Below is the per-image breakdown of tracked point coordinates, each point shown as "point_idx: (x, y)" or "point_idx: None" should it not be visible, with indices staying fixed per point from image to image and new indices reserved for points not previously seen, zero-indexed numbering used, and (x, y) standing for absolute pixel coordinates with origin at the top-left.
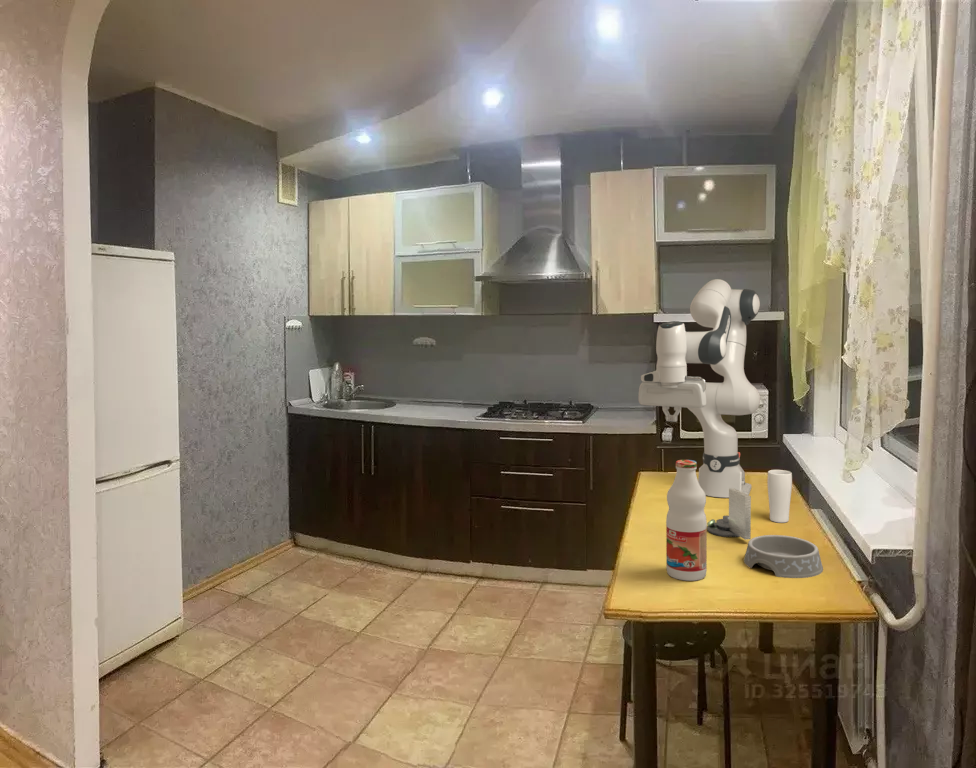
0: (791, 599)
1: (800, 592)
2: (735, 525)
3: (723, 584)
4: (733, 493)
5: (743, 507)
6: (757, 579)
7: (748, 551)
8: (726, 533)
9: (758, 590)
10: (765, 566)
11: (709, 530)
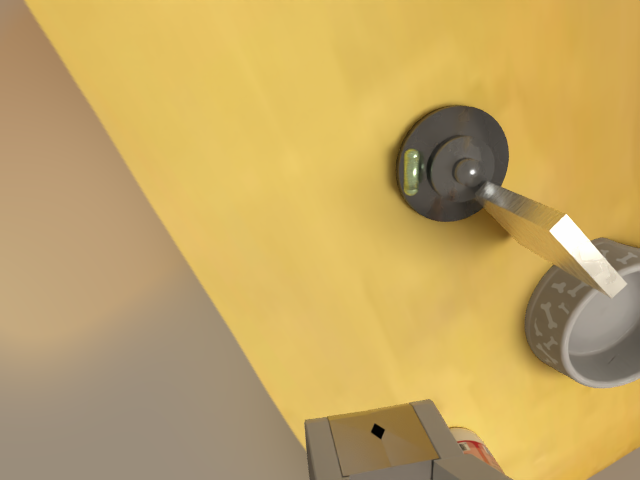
0: (611, 431)
1: (623, 402)
2: (503, 221)
3: (513, 448)
4: (561, 248)
5: (575, 274)
6: (559, 398)
7: (554, 362)
8: (465, 217)
9: (565, 434)
10: (573, 357)
11: (414, 209)
